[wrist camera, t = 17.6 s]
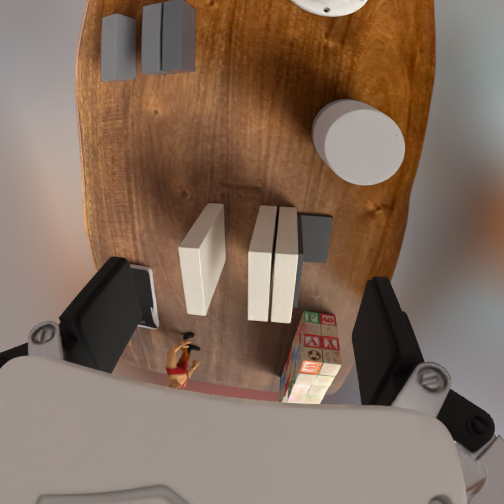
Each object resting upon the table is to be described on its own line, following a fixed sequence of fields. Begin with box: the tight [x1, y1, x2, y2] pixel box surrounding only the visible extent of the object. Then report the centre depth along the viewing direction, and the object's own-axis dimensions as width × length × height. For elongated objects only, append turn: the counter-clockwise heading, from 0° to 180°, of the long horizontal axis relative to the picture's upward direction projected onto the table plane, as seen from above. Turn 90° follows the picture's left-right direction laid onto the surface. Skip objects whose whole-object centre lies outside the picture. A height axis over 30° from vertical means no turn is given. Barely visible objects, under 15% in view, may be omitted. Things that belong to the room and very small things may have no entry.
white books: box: [248, 205, 333, 323], centre depth 41 cm, size 10×11×14 cm
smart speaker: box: [312, 99, 405, 185], centre depth 32 cm, size 10×9×14 cm
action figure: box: [166, 333, 200, 389], centre depth 55 cm, size 10×4×15 cm, turn 10°
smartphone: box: [130, 264, 159, 330], centre depth 56 cm, size 8×1×15 cm
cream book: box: [178, 203, 226, 316], centre depth 42 cm, size 10×2×14 cm, turn 179°
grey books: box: [101, 0, 196, 82], centre depth 31 cm, size 10×12×6 cm
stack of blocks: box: [279, 311, 341, 404], centre depth 54 cm, size 21×6×12 cm, turn 172°
